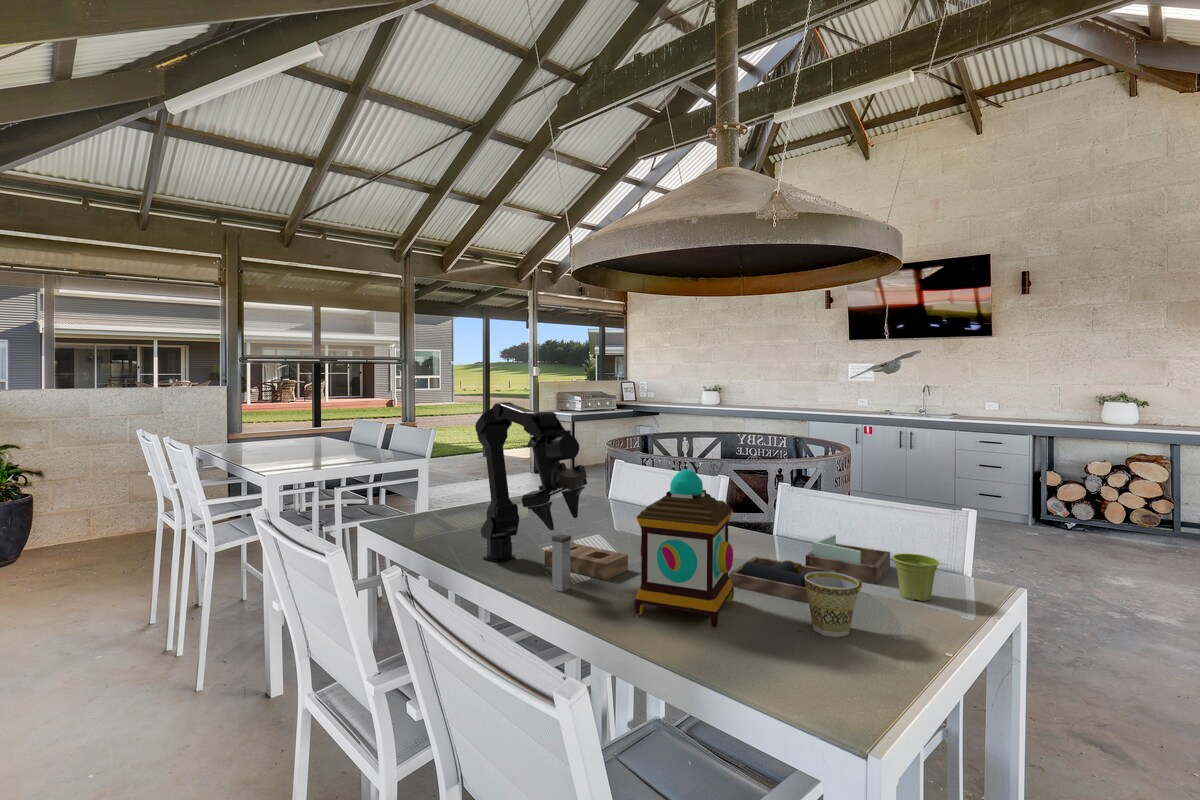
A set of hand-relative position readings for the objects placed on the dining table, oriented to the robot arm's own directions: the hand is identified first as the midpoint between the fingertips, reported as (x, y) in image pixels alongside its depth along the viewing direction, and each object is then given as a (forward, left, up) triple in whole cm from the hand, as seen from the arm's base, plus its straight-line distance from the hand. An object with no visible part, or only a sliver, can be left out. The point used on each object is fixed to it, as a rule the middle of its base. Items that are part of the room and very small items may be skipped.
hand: (564, 523), depth 141 cm
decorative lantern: (+32, +2, -14) cm, 35 cm away
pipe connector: (+44, +29, -14) cm, 55 cm away
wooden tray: (+44, +29, -14) cm, 55 cm away
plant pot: (+71, +39, -14) cm, 82 cm away
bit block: (-2, +11, -14) cm, 18 cm away
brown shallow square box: (+54, +51, -14) cm, 76 cm away
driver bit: (+3, -5, -14) cm, 15 cm away
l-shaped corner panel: (+54, +50, -15) cm, 75 cm away
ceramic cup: (+61, +10, -14) cm, 64 cm away
